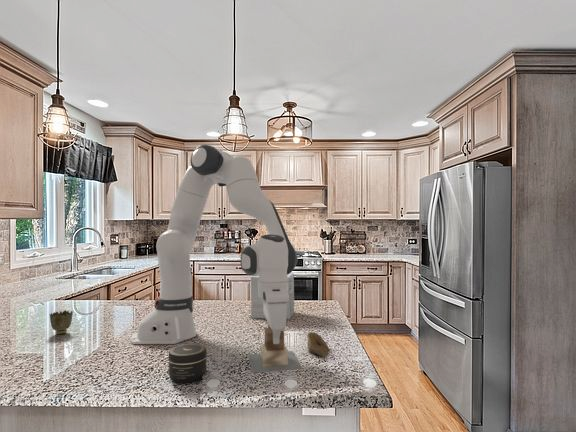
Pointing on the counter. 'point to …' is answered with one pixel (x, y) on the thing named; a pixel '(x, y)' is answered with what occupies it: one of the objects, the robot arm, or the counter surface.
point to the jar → (187, 363)
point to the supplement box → (257, 302)
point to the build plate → (258, 366)
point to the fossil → (317, 344)
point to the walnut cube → (269, 342)
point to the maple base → (274, 356)
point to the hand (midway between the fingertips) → (273, 338)
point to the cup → (61, 321)
